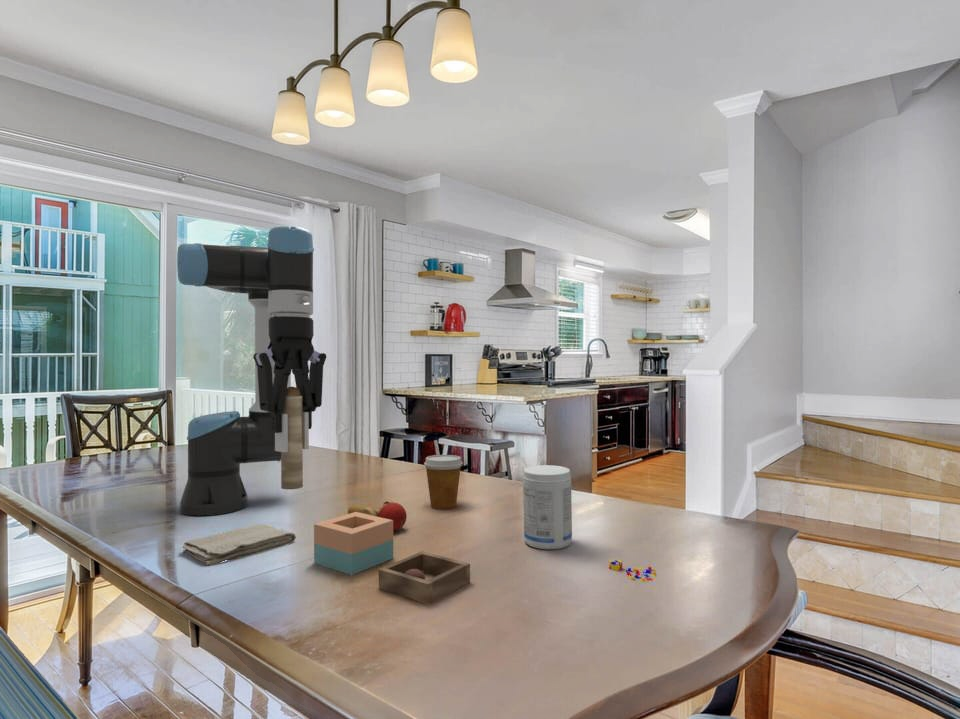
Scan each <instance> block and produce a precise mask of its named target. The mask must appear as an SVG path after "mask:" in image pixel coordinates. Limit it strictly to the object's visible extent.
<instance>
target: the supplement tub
mask: <svg viewBox="0 0 960 719" xmlns="http://www.w3.org/2000/svg"><path fill="white" fill-rule="evenodd" d="M522 481H523V482H522V486H523V488H522V490H523V491H522V493H523V495H522V496H523V499H522V500H523V501H522V502H523V504H522V505H523V539H524V541H525V544H527V545H528V546H530V547H533V548H535V549H541V550H559V549H560V550H561V549H563V548H565V547H568V546H570V544H571V543H572V540H573V520H572V518H573V517H572V515H573V511H572V510H573V507H572V505H573V504H572V503H573V502H572V476H571V470H570V468H568V467H565V466H562V465H554V464H553V465H552V464H551V465H550V464H549V465H548V464H546V465H545V464H542V465H534V466H532V465H530V466H527V467H525V468H524V469H523V476H522Z"/></svg>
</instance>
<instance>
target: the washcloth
mask: <svg viewBox="0 0 960 719" xmlns="http://www.w3.org/2000/svg"><path fill="white" fill-rule="evenodd" d="M296 538H297V536H296V534H295V533H293V532H291V531H287V530H284V529H278V528H275V527H273V526H270V525H267V524H263V523H261V524H256V525H252V526H251V525H250V526H247V527H243V528H237V529H232V530H228V531H225V532H221V533H217V534H212V535H208V536H204V537H200V538H199V537H198V538H195V539H190V540H187V541H185V542H184V543H183V545H182V549H184V550H182V553H183V554H185V555H186V557H188V556H189V557H188V558H190V559H192V558H193V559H192V560H196V561H197V562H198V563H201V564H203V565H205V566H211V564H213V565H217V564H216V563H219V564H221V563H220V562H222V561H225V560H231V561H234V560H233V559H235V560H237V559H241V558H245V557H247V556H248V555H249V556H253V555H256V554H259V552H260V553H262V552H266V551H269V550H272V549H277V548H280V547H283V545H284V546H286V545H287V544H288V545H291V544H292V543H294V542H295V540H296ZM290 543H291V544H290ZM279 546H280V547H279ZM276 547H277V548H276ZM185 552H186V553H185Z"/></svg>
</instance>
